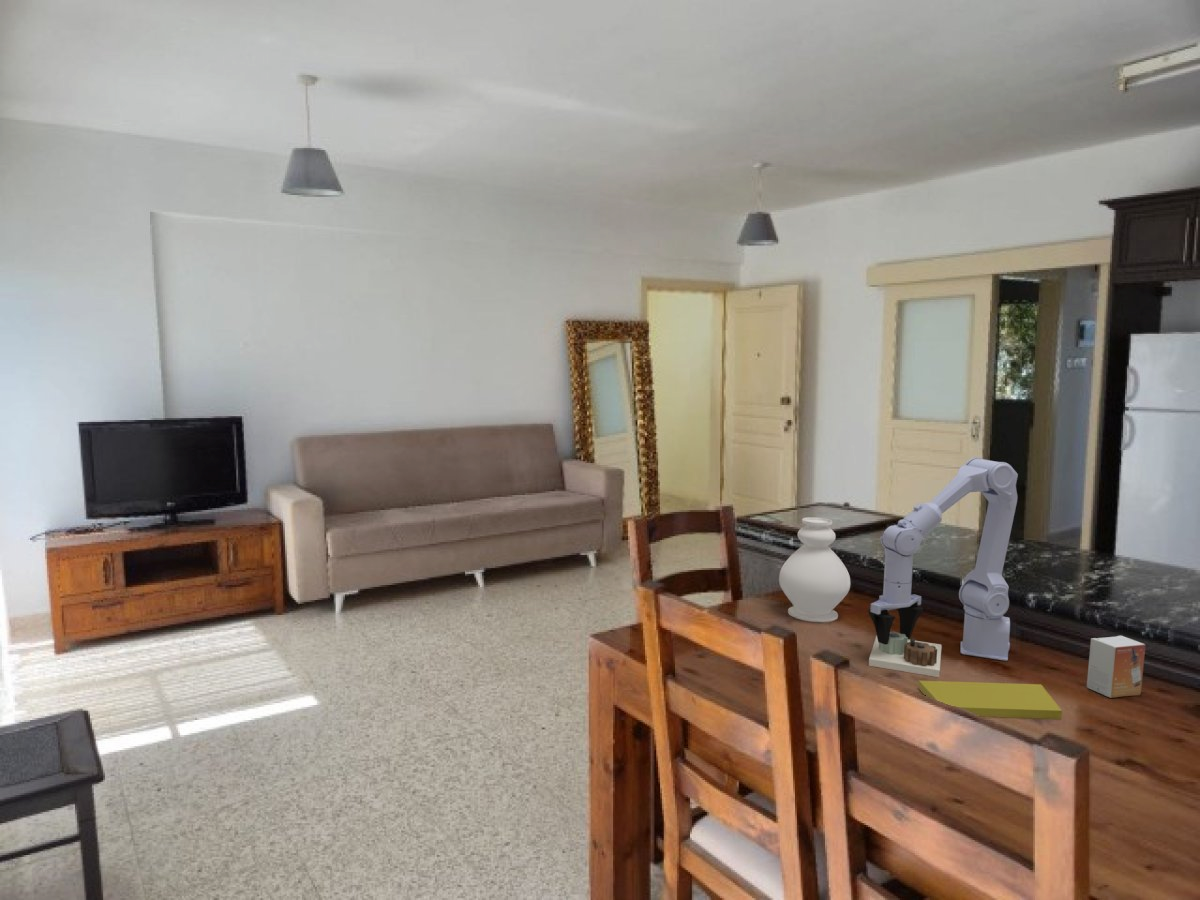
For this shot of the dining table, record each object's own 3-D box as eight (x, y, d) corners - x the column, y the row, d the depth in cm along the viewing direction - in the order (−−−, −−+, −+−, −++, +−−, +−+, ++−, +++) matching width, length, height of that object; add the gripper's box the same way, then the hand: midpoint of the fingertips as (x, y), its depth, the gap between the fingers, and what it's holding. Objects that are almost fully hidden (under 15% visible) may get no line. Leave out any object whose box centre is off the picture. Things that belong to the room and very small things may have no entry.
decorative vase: (765, 606, 208) (768, 515, 205) (822, 601, 213) (827, 512, 211) (801, 628, 191) (805, 528, 189) (863, 622, 197) (868, 525, 194)
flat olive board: (942, 718, 144) (1074, 722, 143) (942, 706, 144) (1075, 711, 143) (918, 691, 156) (1040, 694, 155) (918, 680, 156) (1041, 684, 155)
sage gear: (908, 648, 174) (909, 634, 174) (904, 656, 169) (905, 641, 169) (881, 643, 177) (881, 629, 176) (876, 651, 172) (877, 637, 171)
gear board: (941, 650, 177) (942, 627, 177) (939, 677, 162) (940, 651, 161) (876, 641, 183) (877, 618, 182) (868, 665, 168) (870, 641, 167)
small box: (1110, 699, 152) (1114, 647, 151) (1085, 687, 158) (1089, 637, 157) (1141, 695, 155) (1146, 644, 154) (1116, 684, 160) (1121, 634, 159)
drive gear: (936, 657, 169) (938, 637, 168) (935, 668, 163) (937, 647, 162) (904, 652, 171) (905, 633, 171) (902, 662, 165) (904, 642, 165)
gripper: (903, 572, 178) (900, 629, 180) (860, 580, 171) (857, 640, 172) (930, 579, 172) (927, 638, 174) (887, 588, 165) (883, 650, 166)
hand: (894, 640), depth 173 cm, fingers open, 7 cm apart
